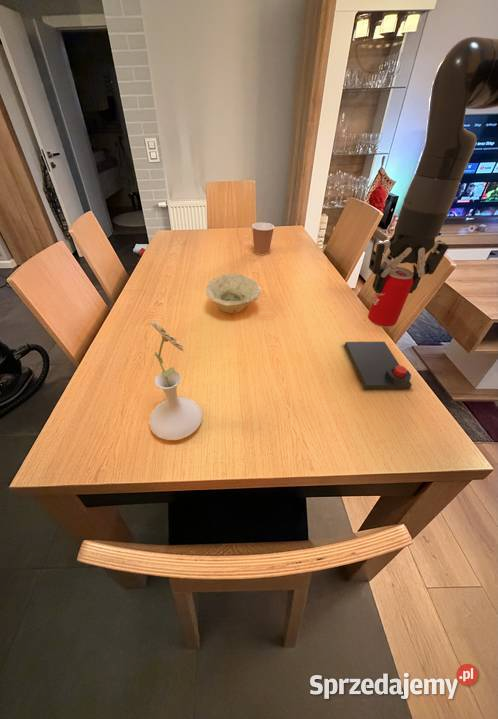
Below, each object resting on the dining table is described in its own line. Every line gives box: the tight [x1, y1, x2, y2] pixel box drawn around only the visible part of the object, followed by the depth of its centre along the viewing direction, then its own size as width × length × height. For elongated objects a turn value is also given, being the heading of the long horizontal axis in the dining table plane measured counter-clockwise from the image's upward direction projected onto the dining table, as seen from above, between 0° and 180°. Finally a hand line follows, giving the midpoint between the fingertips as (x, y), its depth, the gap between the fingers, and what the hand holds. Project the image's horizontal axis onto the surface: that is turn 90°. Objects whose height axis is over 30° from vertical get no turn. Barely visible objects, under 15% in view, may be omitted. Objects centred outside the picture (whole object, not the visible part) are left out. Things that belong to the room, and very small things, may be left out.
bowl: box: [205, 273, 261, 314], centre depth 100 cm, size 14×18×15 cm
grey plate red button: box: [343, 341, 413, 391], centre depth 83 cm, size 18×12×4 cm, turn 3°
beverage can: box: [367, 266, 413, 328], centre depth 64 cm, size 6×6×12 cm
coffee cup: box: [251, 222, 275, 256], centre depth 140 cm, size 10×10×12 cm
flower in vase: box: [148, 319, 203, 441], centre depth 60 cm, size 13×11×25 cm
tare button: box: [393, 365, 408, 378], centre depth 77 cm, size 3×3×2 cm
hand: (392, 291), depth 63 cm, fingers closed on beverage can, 6 cm apart
